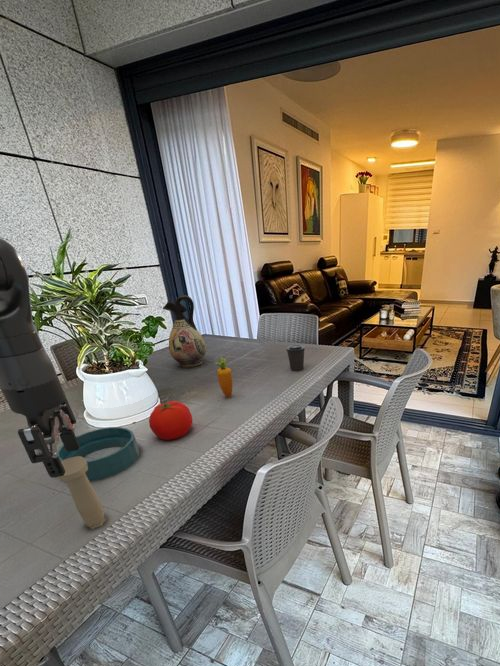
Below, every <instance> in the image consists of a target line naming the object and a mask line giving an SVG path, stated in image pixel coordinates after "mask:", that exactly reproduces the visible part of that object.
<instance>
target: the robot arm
mask: <svg viewBox="0 0 500 666" xmlns="http://www.w3.org/2000/svg"><path fill="white" fill-rule="evenodd" d="M30 293H31V292H30V281H29V273H28V268H27V266H26V264H25V261H24V259H23V258H22V255H20V253H19V251H18V250H17V249H16V248H15V247H14V246H13V245H12V244H10V243H9V242H8V241H6V240H5V239H3V238H1V237H0V390H1V393H2V394H3V396H4V399H5V400H6V403H7V405H8V407H9V408H10V410H11V412H13V413H14V414H18V415H22V416H24V417H25V419H26V422H27V423H26V424H27V426H26V427H24V428H19V429H18V430H17V435H18V437H19V439H20V441H21V443H22V445H23V448H24V450H25V452H26V453H27V456H28V458H29V460H30V462H31V464H38V463H42V464H43V466H44V468H45V470H46V472H47V474H48V476H49V477H50V478H54V479H55V478H57V477H60V476H63V475H64V474H65V469H64V467H63V465H62V463H61V461H60V458H59V456H57V451H58V448H57V445H58V444H60V440H61V442H62V445H64V447H65V449H66V451H75V450H78V449H79V448H80V445H79V443H78V440H77V438H76V436H77V435H76V433H75V426H74V425H76V424H77V419H76V416H75V414H74V412H73V410H72V408H71V406H70V403H69V400H68V399H67V396H66V393H65V391H64V388H63V385H62V383H61V381H60V379H59V376H58V374H57V370H56V369H55V366H54V364H53V362H52V359H51V358H50V356H49V354H48V352H47V351H46V349H45V347H44V345H43V342H42V340H41V337H40V334H39V333H38V330H37V327H36V326H35V323H34V319H33V312H32V303H31V294H30ZM48 446H49V447H48Z"/></svg>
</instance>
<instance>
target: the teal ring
mask: <svg viewBox="0 0 500 666" xmlns="http://www.w3.org/2000/svg"><path fill="white" fill-rule="evenodd" d="M75 436H76V438H77V440H78V443H79V445H80V448H79V449H78V450H75V451H66V449H65V447H64V445H63V444H62V445H61V446H60V447H59V448H58V449H57V456H59V458H60V461H63V460H65V459H68V458H71V457H76V456H82V457H83V458H85V457H86V456H88V455H90V454H92V453H94V452H97V451H100V450H103V449H104V450H105V449H109V448H119V447H120V448H119V449H118V450H116V451H114V452H111V453H110V454H108V455H105V456H101V457H99V458H95V459H91V460H86V462H87V465H88V470H87V471H86V472H85V474H86V476H87V478H88V480H89V482H92V481H93V482H94V481H97V480H103V479H106V478H109V477H111V476H114V475H117V474H119V473H120V472H123V471H124V470H125V471H126V469H128V468H129V467H131V466H132V465H133V464H134V463H135V462H136V461H137V459H138V458H139V457H140V454H141V453H140V448H139V446H138V443H137V440H136V436H135V433H134V432H133V430H130V429H129V428H126V427H121V426H111V427H110V426H109V427H103V428H97V429H94V430H90V431H87V432H84V433H81V434H79V435H75Z"/></svg>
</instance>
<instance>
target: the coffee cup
mask: <svg viewBox="0 0 500 666" xmlns="http://www.w3.org/2000/svg"><path fill="white" fill-rule="evenodd" d="M305 350H306V346H304V345H302V344H301V345H300V344H292V345H289V346H287V347H286V348H285V351H287V357H288V362H289V367H290V371H292V372H301V371H303V370H304V362H305Z"/></svg>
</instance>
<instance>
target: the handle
mask: <svg viewBox="0 0 500 666" xmlns="http://www.w3.org/2000/svg"><path fill="white" fill-rule="evenodd" d="M86 461H87V459H86V458H85V457H82V456H76V457H71V458H68V459H65V460H63V461H61V463H62V465H63V467H64V469H65V474H64V475H63V476H60V477H56V478H57V479H58V480H59V481H60V482H65V483H66V485H67V488H68V490H69V492H70V495H71V497H72V500H73V502H74V505H75V508H76V510H77V512H78V514H79V516H80V518H81V519H82V521H83V522H84V523H85V526H86V527H87V528H90V529H91V530H94V529H96V528H100V527H102V526H103V524H104V523H105V522H106V521H107V519H106V516H105V512H104V509H103V506H102V503H101V501H100V499H99V497H98V494H97V493H96V491H95V490H94V487H93V485H92V484H91V481H89V480H88V478H87V476H86V474H85V472H86V471H87V470H88V465H87V462H86Z"/></svg>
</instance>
